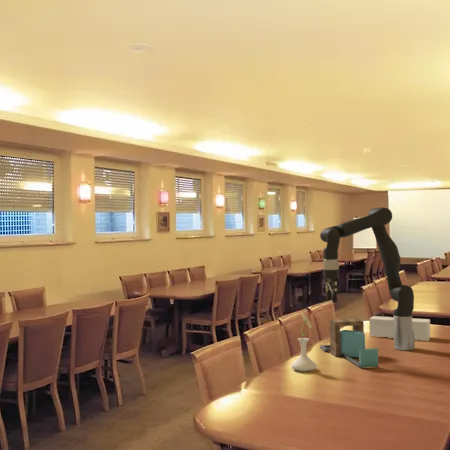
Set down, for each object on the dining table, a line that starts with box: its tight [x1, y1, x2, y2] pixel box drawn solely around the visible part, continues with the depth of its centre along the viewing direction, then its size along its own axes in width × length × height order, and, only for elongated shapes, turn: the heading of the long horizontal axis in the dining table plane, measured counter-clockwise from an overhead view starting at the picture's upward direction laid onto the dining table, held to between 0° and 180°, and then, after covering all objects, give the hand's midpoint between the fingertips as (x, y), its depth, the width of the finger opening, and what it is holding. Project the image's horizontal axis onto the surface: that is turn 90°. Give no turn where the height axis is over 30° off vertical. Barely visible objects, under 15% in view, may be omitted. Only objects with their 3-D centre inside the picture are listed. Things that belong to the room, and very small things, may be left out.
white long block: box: [368, 315, 431, 342], centre depth 295 cm, size 32×11×11 cm, turn 63°
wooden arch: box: [329, 318, 365, 358], centre depth 255 cm, size 15×8×17 cm, turn 98°
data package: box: [340, 329, 366, 359], centre depth 250 cm, size 12×4×12 cm, turn 53°
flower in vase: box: [290, 312, 318, 372], centre depth 228 cm, size 13×11×25 cm
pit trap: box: [319, 344, 330, 353], centre depth 266 cm, size 18×8×2 cm, turn 98°
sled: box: [341, 347, 379, 369], centre depth 243 cm, size 8×30×8 cm, turn 8°
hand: (331, 301), depth 253 cm, fingers open, 8 cm apart
